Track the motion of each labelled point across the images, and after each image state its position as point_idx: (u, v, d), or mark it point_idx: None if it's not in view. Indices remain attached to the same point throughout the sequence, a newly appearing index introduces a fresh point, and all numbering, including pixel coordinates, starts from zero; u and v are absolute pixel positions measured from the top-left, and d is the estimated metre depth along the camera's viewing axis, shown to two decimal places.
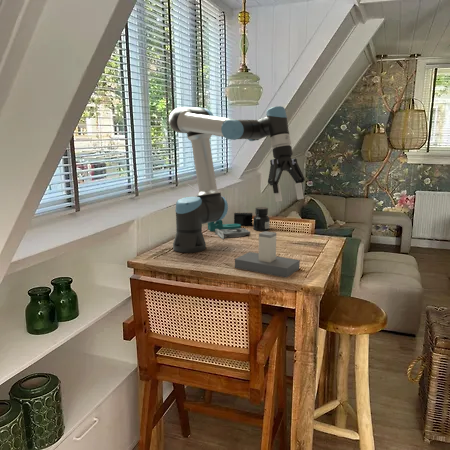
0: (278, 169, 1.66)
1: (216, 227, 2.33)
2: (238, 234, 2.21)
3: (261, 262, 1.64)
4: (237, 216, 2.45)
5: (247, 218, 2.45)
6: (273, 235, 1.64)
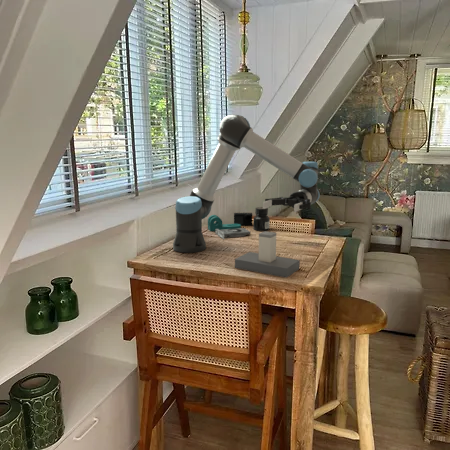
0: None
1: (216, 227, 2.34)
2: (238, 234, 2.21)
3: (261, 262, 1.64)
4: (237, 216, 2.45)
5: (247, 218, 2.46)
6: (273, 235, 1.64)
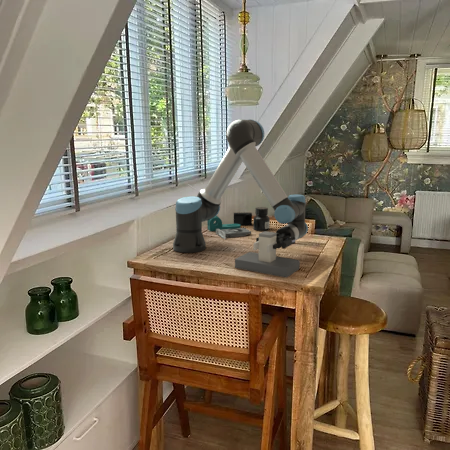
0: (282, 241, 1.71)
1: (216, 227, 2.34)
2: (239, 234, 2.21)
3: (261, 262, 1.64)
4: (237, 216, 2.46)
5: (247, 218, 2.46)
6: (273, 235, 1.64)
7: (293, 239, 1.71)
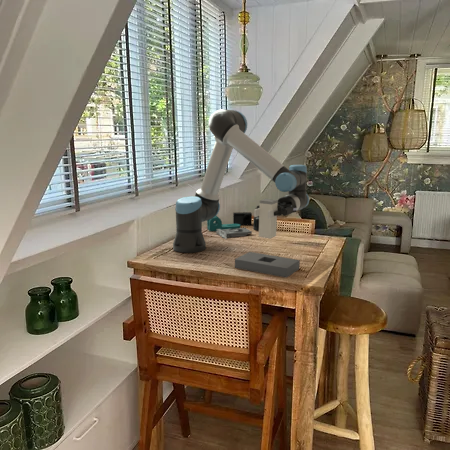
0: (284, 209, 1.69)
1: (215, 227, 2.34)
2: (240, 234, 2.21)
3: (261, 262, 1.64)
4: (236, 216, 2.46)
5: (246, 218, 2.47)
6: (274, 202, 1.61)
7: (294, 207, 1.68)
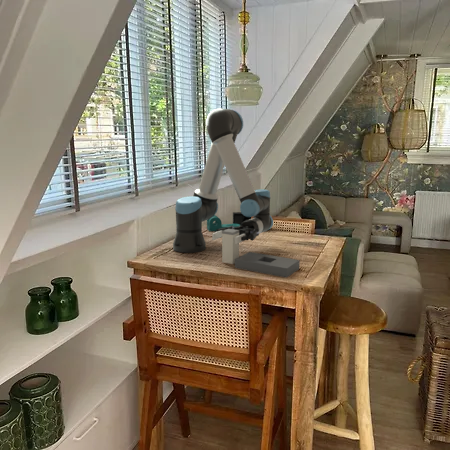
0: None
1: (215, 227, 2.33)
2: None
3: (261, 262, 1.64)
4: (236, 215, 2.47)
5: (246, 217, 2.47)
6: (235, 232, 1.73)
7: (257, 231, 1.80)
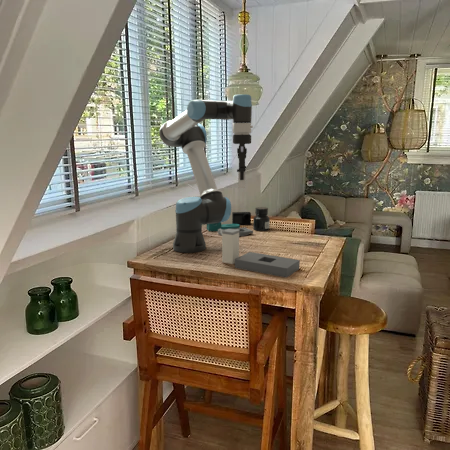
0: None
1: (215, 227, 2.33)
2: (242, 233, 2.22)
3: (261, 262, 1.64)
4: (236, 215, 2.47)
5: (246, 217, 2.48)
6: (235, 232, 1.73)
7: (240, 150, 1.71)
